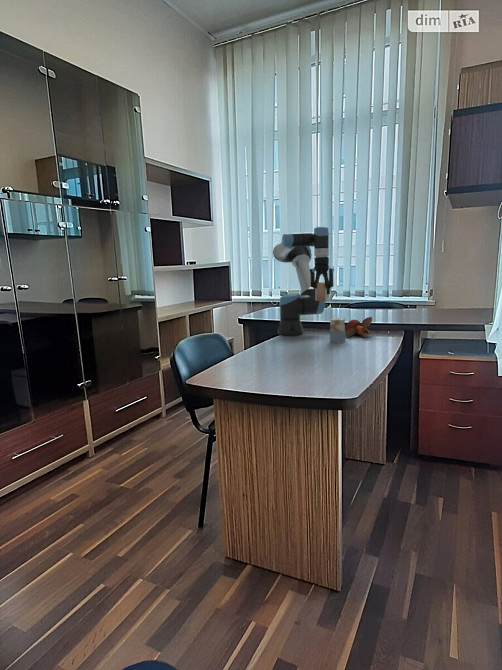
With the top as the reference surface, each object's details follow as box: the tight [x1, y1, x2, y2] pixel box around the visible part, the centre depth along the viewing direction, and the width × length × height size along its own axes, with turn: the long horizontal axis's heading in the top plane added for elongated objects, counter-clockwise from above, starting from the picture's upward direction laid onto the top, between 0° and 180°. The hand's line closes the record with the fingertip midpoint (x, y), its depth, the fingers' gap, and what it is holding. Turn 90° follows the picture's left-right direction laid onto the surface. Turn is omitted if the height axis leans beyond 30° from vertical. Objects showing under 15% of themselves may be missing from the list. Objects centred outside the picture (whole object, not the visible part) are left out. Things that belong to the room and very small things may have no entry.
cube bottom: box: [329, 329, 347, 344], centre depth 213 cm, size 6×6×6 cm
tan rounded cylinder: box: [317, 281, 326, 302], centre depth 218 cm, size 5×5×10 cm
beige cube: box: [329, 317, 346, 332], centre depth 212 cm, size 6×6×6 cm
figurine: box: [345, 316, 373, 338], centre depth 226 cm, size 20×9×15 cm
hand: (322, 300), depth 219 cm, fingers closed on tan rounded cylinder, 5 cm apart
